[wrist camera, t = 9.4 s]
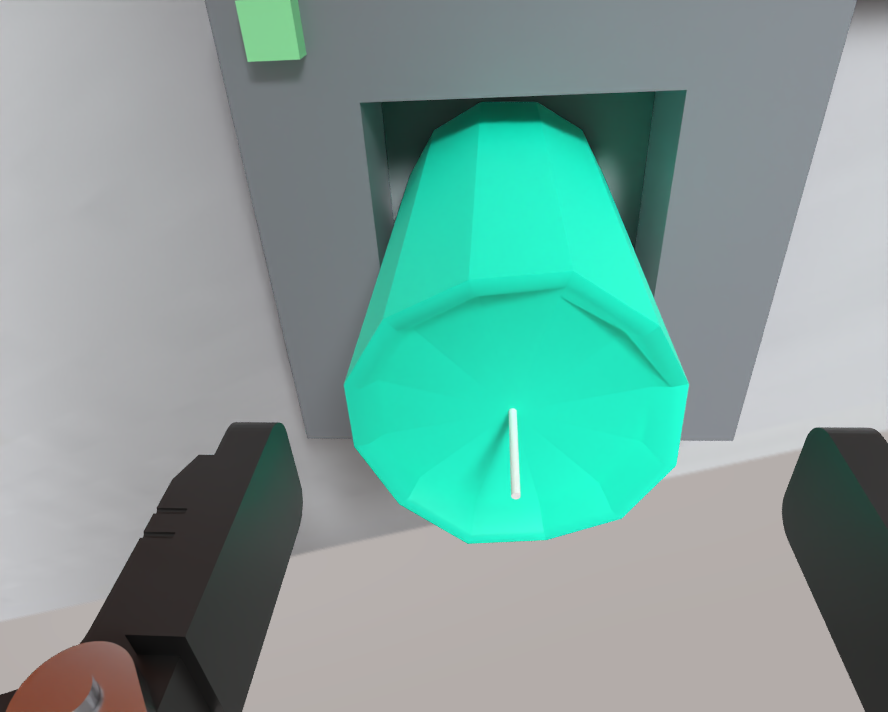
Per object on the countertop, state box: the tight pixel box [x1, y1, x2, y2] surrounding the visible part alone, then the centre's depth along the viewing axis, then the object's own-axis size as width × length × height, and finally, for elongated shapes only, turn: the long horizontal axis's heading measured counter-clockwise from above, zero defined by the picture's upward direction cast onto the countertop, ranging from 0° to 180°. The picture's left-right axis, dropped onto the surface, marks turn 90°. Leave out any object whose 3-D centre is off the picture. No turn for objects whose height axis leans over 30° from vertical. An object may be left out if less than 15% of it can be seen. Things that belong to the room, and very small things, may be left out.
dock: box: [205, 0, 857, 441], centre depth 18 cm, size 14×14×4 cm
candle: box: [344, 102, 689, 544], centre depth 15 cm, size 6×6×12 cm
